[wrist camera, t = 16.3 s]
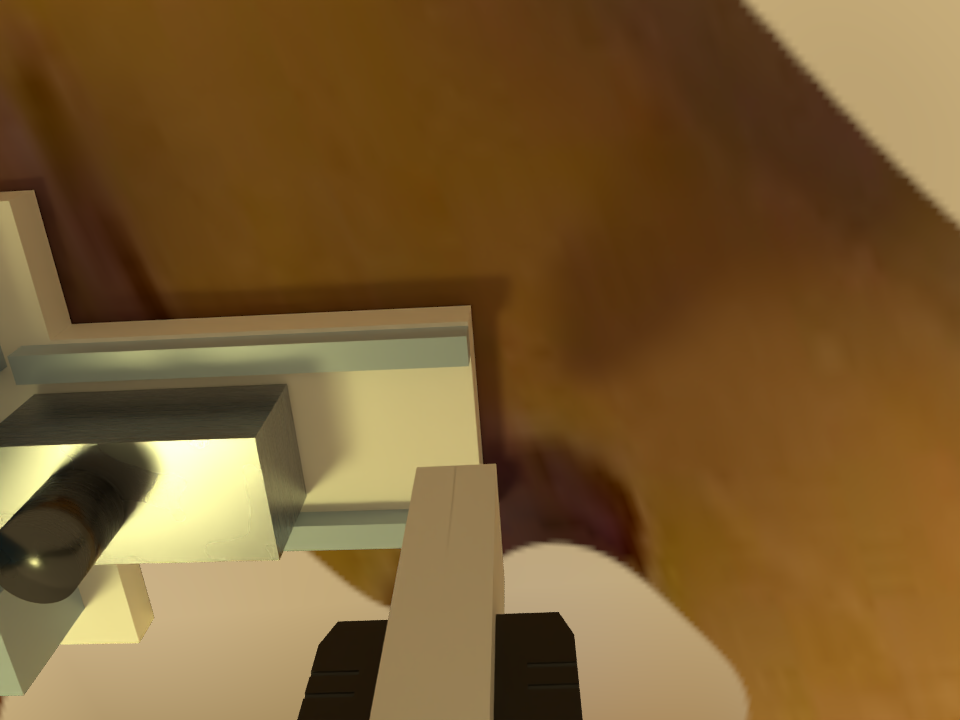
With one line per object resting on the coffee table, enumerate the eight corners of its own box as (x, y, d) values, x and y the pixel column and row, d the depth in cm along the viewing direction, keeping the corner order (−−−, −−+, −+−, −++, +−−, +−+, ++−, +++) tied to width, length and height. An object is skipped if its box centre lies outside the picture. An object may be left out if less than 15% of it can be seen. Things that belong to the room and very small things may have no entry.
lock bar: (68, 502, 21) (-43, 629, 17) (34, 394, 20) (-94, 502, 16) (306, 495, 21) (252, 624, 17) (287, 383, 20) (222, 492, 15)
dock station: (-248, 625, 25) (-381, 737, 21) (-461, 219, 20) (-681, 273, 16) (494, 611, 23) (488, 729, 20) (459, 165, 18) (441, 212, 15)
